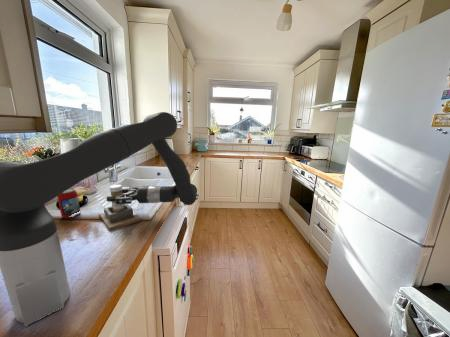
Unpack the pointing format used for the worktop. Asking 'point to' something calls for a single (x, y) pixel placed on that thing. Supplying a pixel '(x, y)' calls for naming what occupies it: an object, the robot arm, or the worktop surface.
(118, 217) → the socket board
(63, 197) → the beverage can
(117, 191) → the sprinkles bottle
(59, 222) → the worktop surface
